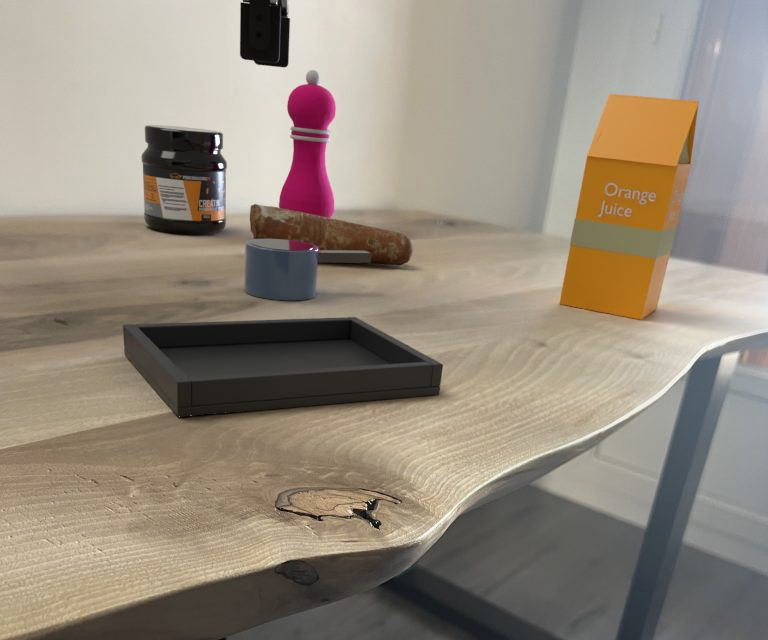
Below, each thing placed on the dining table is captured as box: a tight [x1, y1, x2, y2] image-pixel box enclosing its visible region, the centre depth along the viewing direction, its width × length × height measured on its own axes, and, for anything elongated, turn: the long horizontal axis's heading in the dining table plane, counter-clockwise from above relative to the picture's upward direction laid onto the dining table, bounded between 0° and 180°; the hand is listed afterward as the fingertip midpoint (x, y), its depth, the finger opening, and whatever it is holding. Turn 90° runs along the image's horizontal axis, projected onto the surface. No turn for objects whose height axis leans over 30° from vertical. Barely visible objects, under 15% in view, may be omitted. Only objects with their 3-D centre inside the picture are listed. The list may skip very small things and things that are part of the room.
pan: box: [243, 238, 371, 302], centre depth 78 cm, size 13×7×4 cm, turn 119°
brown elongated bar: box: [249, 203, 414, 266], centre depth 94 cm, size 6×19×6 cm, turn 96°
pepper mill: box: [278, 69, 337, 219], centre depth 104 cm, size 7×7×20 cm
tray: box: [122, 316, 444, 418], centre depth 54 cm, size 18×13×2 cm
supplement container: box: [141, 124, 228, 236], centre depth 104 cm, size 10×10×12 cm
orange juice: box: [558, 93, 700, 321], centre depth 83 cm, size 8×9×20 cm
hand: (265, 63), depth 72 cm, fingers open, 9 cm apart
